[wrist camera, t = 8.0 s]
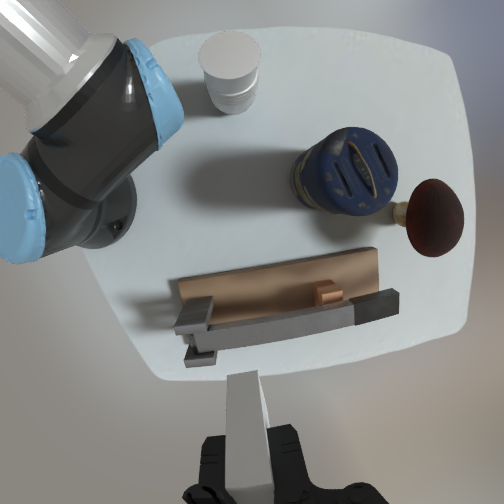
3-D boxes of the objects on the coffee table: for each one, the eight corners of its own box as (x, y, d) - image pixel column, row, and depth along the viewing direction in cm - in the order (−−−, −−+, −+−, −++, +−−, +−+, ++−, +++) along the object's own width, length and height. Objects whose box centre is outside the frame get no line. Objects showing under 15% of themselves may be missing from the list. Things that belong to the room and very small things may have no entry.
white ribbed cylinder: (220, 74, 38) (211, 25, 23) (261, 86, 39) (270, 39, 24) (204, 110, 39) (186, 71, 24) (246, 123, 40) (248, 87, 25)
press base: (180, 278, 44) (160, 306, 32) (372, 246, 44) (409, 262, 32) (196, 343, 46) (184, 385, 35) (374, 311, 47) (406, 341, 35)
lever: (187, 324, 36) (185, 332, 34) (391, 286, 37) (399, 291, 34) (194, 347, 37) (191, 355, 35) (391, 309, 37) (398, 314, 35)
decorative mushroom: (367, 240, 44) (417, 259, 29) (376, 175, 42) (429, 169, 27) (417, 247, 45) (471, 267, 30) (425, 188, 43) (482, 189, 28)
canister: (295, 215, 43) (332, 228, 25) (281, 155, 41) (309, 128, 23) (352, 203, 43) (414, 209, 25) (339, 145, 41) (395, 119, 23)
